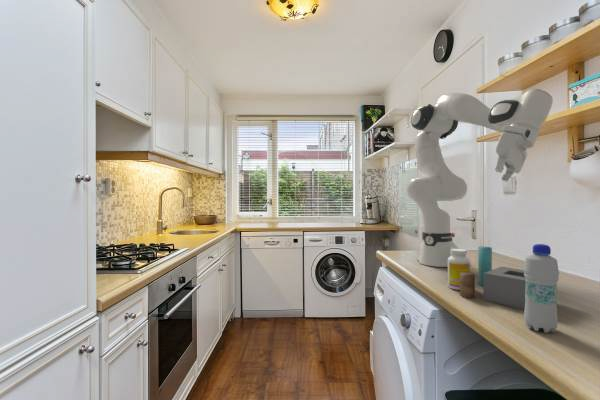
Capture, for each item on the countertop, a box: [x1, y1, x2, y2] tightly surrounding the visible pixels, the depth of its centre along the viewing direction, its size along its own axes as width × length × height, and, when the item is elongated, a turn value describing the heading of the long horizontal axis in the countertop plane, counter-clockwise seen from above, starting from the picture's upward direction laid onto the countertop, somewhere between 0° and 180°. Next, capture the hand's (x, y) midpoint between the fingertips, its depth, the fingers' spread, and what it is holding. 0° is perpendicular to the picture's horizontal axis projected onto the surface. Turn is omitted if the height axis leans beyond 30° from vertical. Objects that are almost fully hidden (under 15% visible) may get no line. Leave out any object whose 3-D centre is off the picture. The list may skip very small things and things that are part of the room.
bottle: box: [523, 243, 560, 334], centre depth 76 cm, size 7×7×20 cm
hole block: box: [482, 266, 526, 310], centre depth 96 cm, size 13×13×8 cm
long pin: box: [477, 246, 493, 287], centre depth 112 cm, size 4×4×13 cm
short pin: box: [459, 272, 476, 299], centre depth 100 cm, size 4×4×7 cm
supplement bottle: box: [447, 248, 471, 291], centre depth 109 cm, size 7×7×13 cm
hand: (501, 176), depth 107 cm, fingers open, 8 cm apart
